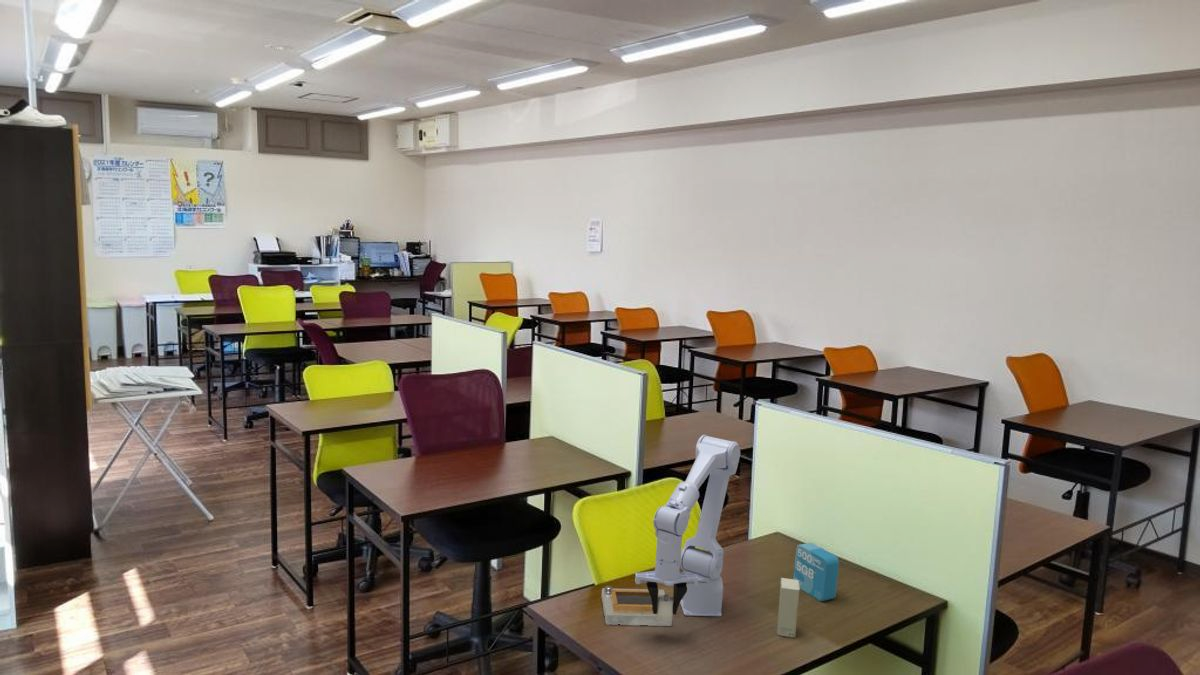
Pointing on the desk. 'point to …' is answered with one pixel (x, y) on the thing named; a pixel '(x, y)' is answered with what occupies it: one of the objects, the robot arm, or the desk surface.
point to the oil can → (664, 608)
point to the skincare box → (788, 607)
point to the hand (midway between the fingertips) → (664, 612)
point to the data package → (816, 571)
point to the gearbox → (629, 607)
